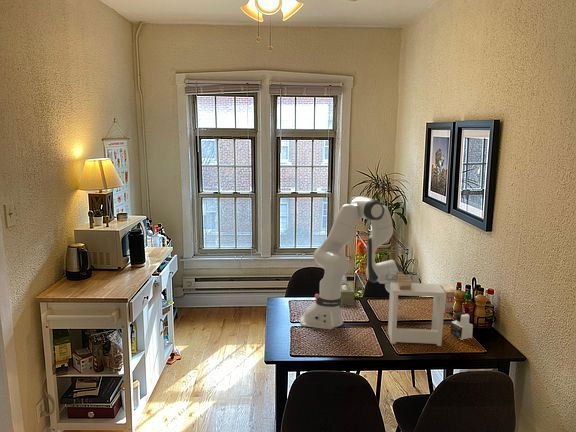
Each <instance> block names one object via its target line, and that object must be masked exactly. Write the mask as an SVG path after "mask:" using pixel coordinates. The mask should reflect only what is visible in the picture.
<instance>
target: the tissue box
mask: <svg viewBox="0 0 576 432" xmlns="http://www.w3.org/2000/svg"><path fill="white" fill-rule="evenodd" d="M347 280H348V279H347V276H346V273H345V274H344V276H343V279H342V283H341V297H342V305H343V306H355V295H356V294H355V287H354V282H353V281H347Z"/></svg>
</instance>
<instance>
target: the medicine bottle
mask: <svg viewBox="0 0 576 432" xmlns="http://www.w3.org/2000/svg"><path fill="white" fill-rule="evenodd" d="M473 326H474V325H473V324H472V323H470V314H469V313H467V312H463V311H460V312H459V311H458V312H456V314H455V320H454V321H453V320H452V321H451V324H450V336H451V335H452V336H451V337H453V336H454V337H453V338H455V337H456V338H455V339H457V338H458V339H460V340H463V339H467V338H471V339H472V338H473V331H474V330H473V329H474V327H473ZM458 339H457V340H458ZM460 340H459V341H460ZM467 340H468V339H467ZM463 341H464V340H463Z"/></svg>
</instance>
